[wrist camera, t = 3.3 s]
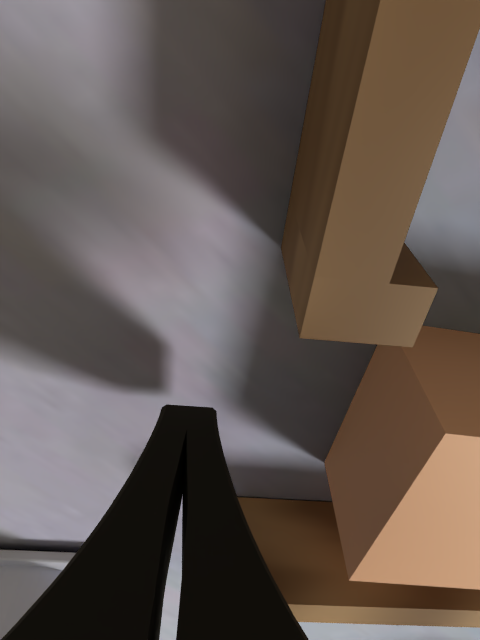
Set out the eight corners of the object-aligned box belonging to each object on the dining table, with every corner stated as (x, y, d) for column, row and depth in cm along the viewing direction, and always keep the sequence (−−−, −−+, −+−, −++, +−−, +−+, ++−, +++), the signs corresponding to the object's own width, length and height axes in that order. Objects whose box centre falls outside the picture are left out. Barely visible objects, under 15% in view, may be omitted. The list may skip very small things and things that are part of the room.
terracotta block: (323, 457, 15) (348, 580, 12) (386, 317, 12) (445, 433, 9) (483, 474, 16) (548, 594, 13) (586, 345, 13) (711, 463, 9)
